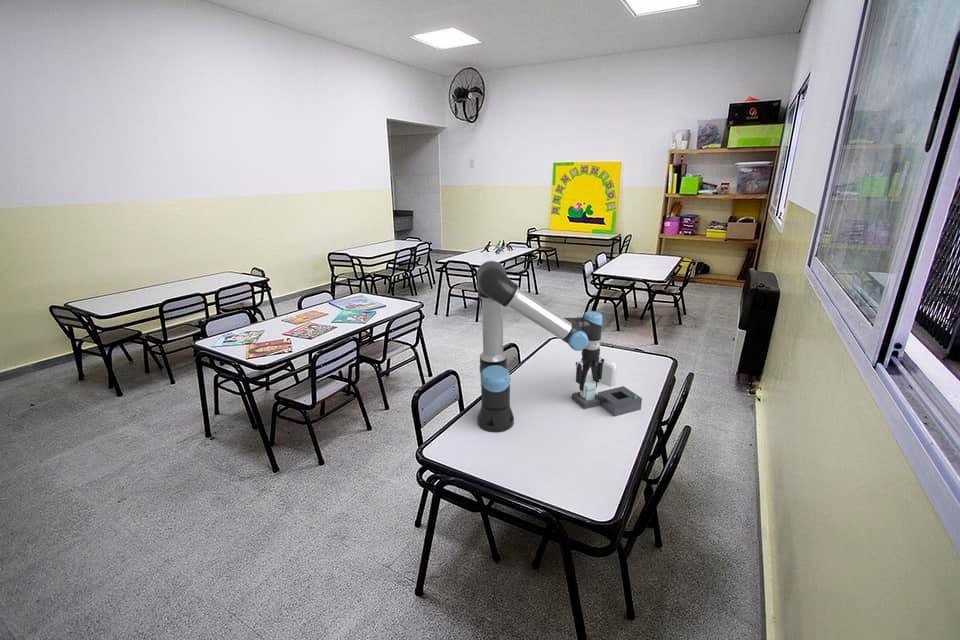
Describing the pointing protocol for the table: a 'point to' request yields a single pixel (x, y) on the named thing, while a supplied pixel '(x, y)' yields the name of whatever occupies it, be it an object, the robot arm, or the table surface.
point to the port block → (619, 401)
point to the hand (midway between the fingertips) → (587, 395)
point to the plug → (589, 391)
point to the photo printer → (609, 373)
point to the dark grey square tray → (584, 403)
